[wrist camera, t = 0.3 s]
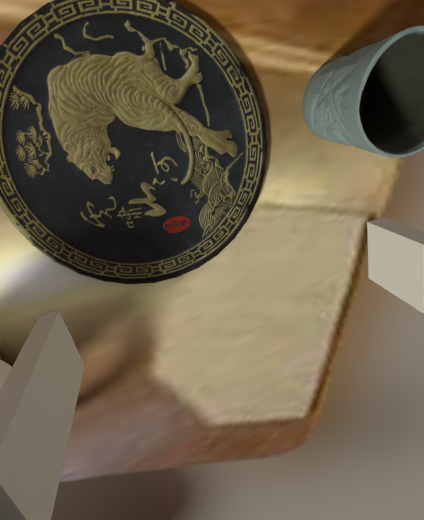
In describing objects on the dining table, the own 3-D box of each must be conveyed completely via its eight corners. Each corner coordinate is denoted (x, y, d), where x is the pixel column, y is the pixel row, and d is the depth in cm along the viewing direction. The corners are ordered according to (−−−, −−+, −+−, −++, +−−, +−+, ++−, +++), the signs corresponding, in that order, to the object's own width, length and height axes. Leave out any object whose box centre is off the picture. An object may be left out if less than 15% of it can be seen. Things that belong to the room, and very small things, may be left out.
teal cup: (372, 44, 38) (469, 11, 27) (376, 137, 42) (461, 141, 31) (289, 67, 37) (354, 41, 26) (301, 159, 41) (362, 171, 30)
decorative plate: (268, 267, 44) (22, 304, 39) (263, 262, 45) (27, 296, 40) (268, -15, 33) (-79, -17, 27) (261, -8, 34) (-66, -9, 29)
